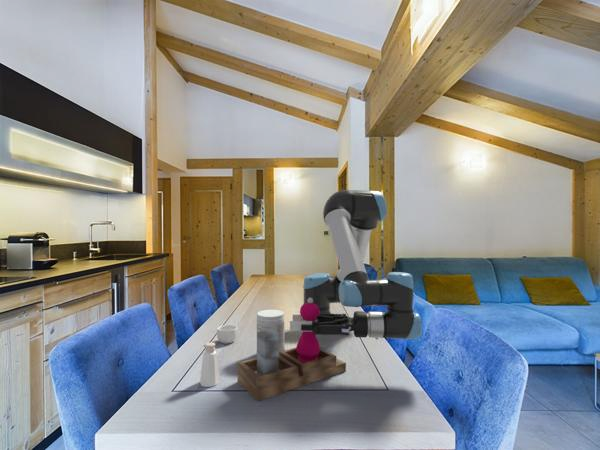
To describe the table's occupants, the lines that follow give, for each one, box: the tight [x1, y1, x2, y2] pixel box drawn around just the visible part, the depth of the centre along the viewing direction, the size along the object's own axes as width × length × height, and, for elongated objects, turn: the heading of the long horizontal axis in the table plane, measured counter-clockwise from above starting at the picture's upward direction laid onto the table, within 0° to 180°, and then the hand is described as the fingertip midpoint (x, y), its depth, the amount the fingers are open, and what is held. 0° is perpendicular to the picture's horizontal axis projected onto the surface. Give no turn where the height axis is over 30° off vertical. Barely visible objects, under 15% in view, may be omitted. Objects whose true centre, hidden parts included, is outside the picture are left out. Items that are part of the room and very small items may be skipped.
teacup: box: [216, 324, 238, 345], centre depth 126 cm, size 10×8×5 cm
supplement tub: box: [256, 309, 286, 352], centre depth 112 cm, size 10×10×15 cm
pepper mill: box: [295, 298, 321, 363], centre depth 99 cm, size 7×7×20 cm
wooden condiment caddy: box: [237, 329, 347, 402], centre depth 96 cm, size 30×12×14 cm, turn 126°
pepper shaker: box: [199, 341, 220, 388], centre depth 92 cm, size 5×5×11 cm
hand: (291, 322), depth 100 cm, fingers open, 7 cm apart
